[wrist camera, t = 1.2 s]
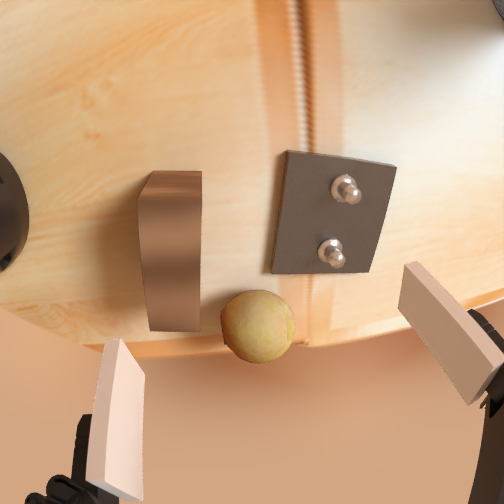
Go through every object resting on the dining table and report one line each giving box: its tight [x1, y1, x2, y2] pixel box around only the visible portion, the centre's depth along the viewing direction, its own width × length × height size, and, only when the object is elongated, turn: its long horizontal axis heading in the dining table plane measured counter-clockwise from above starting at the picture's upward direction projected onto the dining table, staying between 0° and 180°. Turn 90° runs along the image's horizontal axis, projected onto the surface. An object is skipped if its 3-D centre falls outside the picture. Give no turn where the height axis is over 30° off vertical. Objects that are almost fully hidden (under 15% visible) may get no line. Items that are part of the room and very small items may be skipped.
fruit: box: [221, 290, 296, 363], centre depth 32 cm, size 8×8×8 cm
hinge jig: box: [270, 150, 397, 274], centre depth 30 cm, size 12×13×4 cm
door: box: [137, 171, 202, 332], centre depth 26 cm, size 12×4×8 cm, turn 174°
